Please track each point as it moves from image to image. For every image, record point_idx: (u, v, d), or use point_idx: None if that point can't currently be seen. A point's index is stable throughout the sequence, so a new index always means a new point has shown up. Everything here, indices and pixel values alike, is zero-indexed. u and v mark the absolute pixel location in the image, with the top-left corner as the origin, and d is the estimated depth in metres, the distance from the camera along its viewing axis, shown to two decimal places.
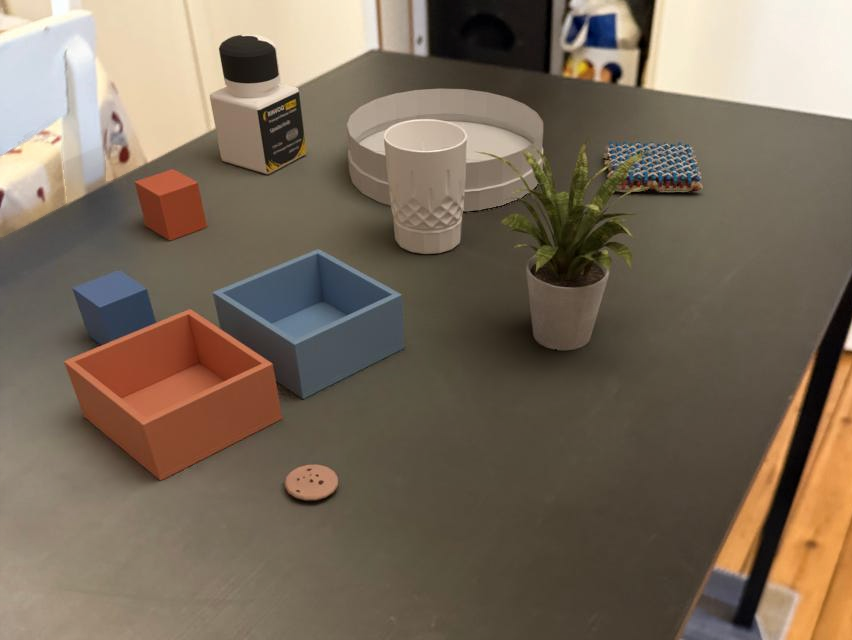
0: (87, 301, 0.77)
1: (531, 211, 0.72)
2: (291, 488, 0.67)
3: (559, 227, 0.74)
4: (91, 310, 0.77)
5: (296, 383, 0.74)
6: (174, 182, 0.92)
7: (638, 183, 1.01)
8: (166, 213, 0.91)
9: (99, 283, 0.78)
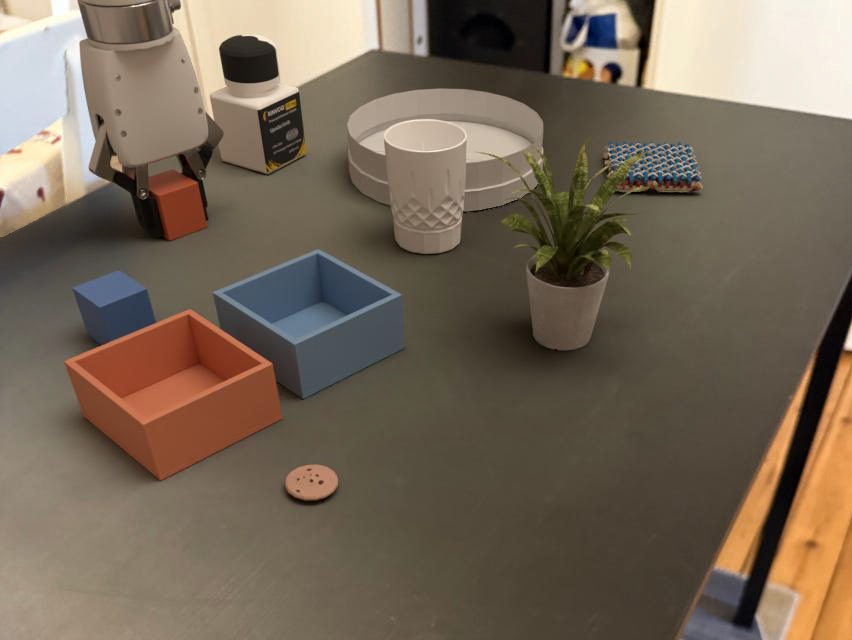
0: (87, 301, 0.77)
1: (531, 211, 0.72)
2: (291, 488, 0.67)
3: (559, 227, 0.74)
4: (91, 310, 0.77)
5: (296, 383, 0.74)
6: (174, 182, 0.92)
7: (638, 183, 1.01)
8: (166, 213, 0.91)
9: (99, 283, 0.78)
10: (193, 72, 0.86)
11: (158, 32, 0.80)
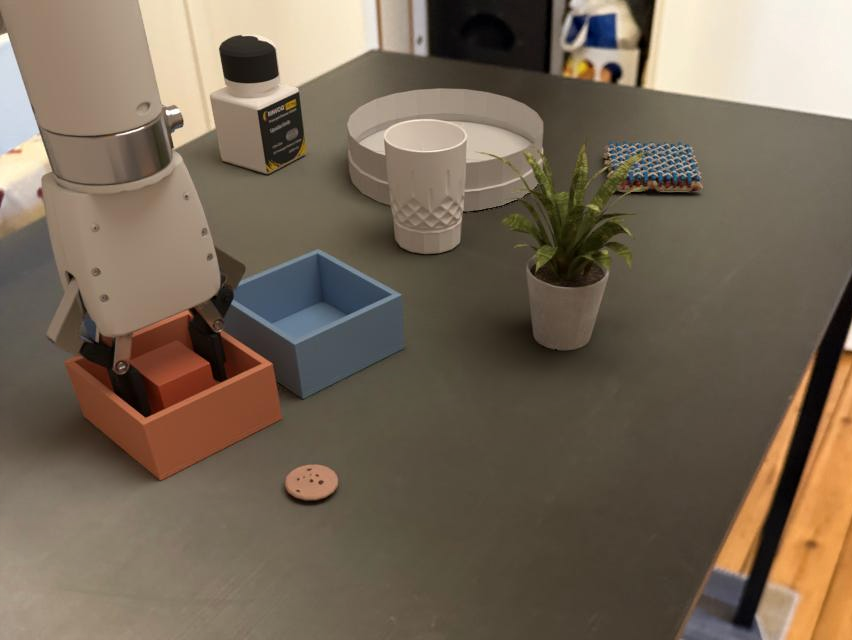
0: None
1: (531, 211, 0.72)
2: (291, 488, 0.67)
3: (559, 227, 0.74)
4: None
5: (296, 383, 0.74)
6: (178, 363, 0.69)
7: (638, 183, 1.01)
8: (168, 404, 0.69)
9: None
10: (200, 209, 0.62)
11: (152, 166, 0.57)
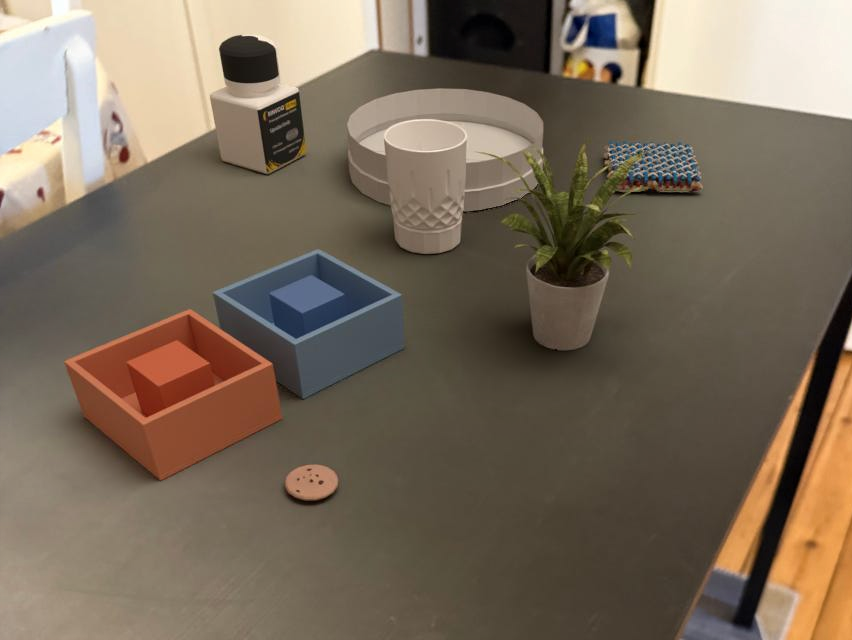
0: (287, 307, 0.76)
1: (531, 211, 0.72)
2: (291, 488, 0.67)
3: (559, 227, 0.74)
4: (289, 316, 0.76)
5: (296, 383, 0.74)
6: (178, 363, 0.69)
7: (638, 183, 1.01)
8: (168, 404, 0.69)
9: (295, 288, 0.77)
10: None
11: None
